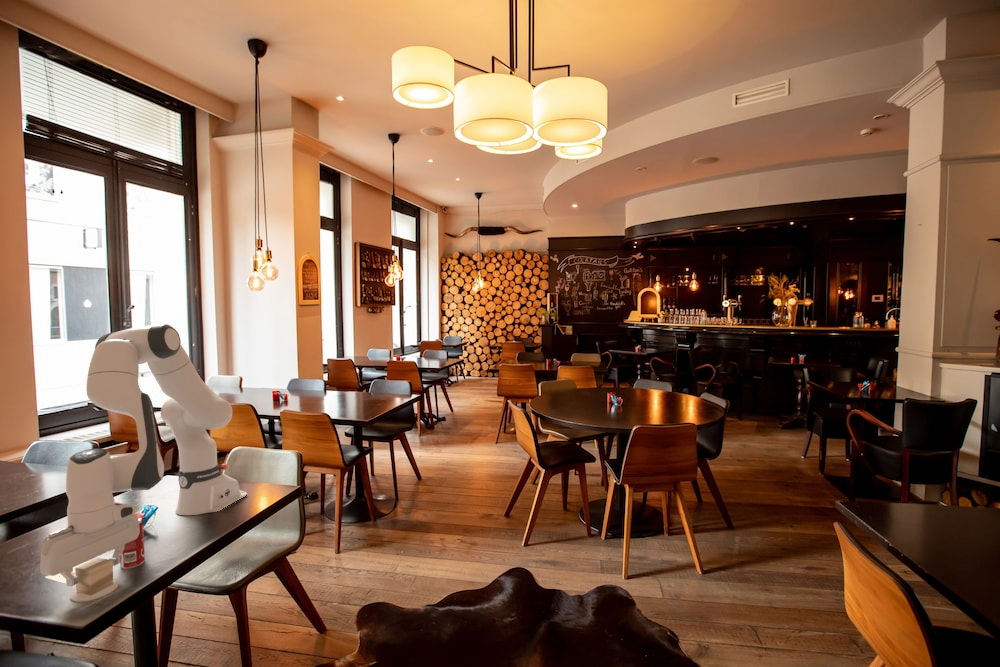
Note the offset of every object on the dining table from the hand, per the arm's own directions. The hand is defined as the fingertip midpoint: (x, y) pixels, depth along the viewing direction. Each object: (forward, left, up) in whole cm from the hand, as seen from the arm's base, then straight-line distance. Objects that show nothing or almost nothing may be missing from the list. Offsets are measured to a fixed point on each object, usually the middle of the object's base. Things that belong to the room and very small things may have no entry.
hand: (94, 574), depth 118 cm
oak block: (0, 0, -4) cm, 4 cm away
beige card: (-4, -15, -4) cm, 16 cm away
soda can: (-12, -5, -4) cm, 13 cm away
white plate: (0, 0, -4) cm, 4 cm away
